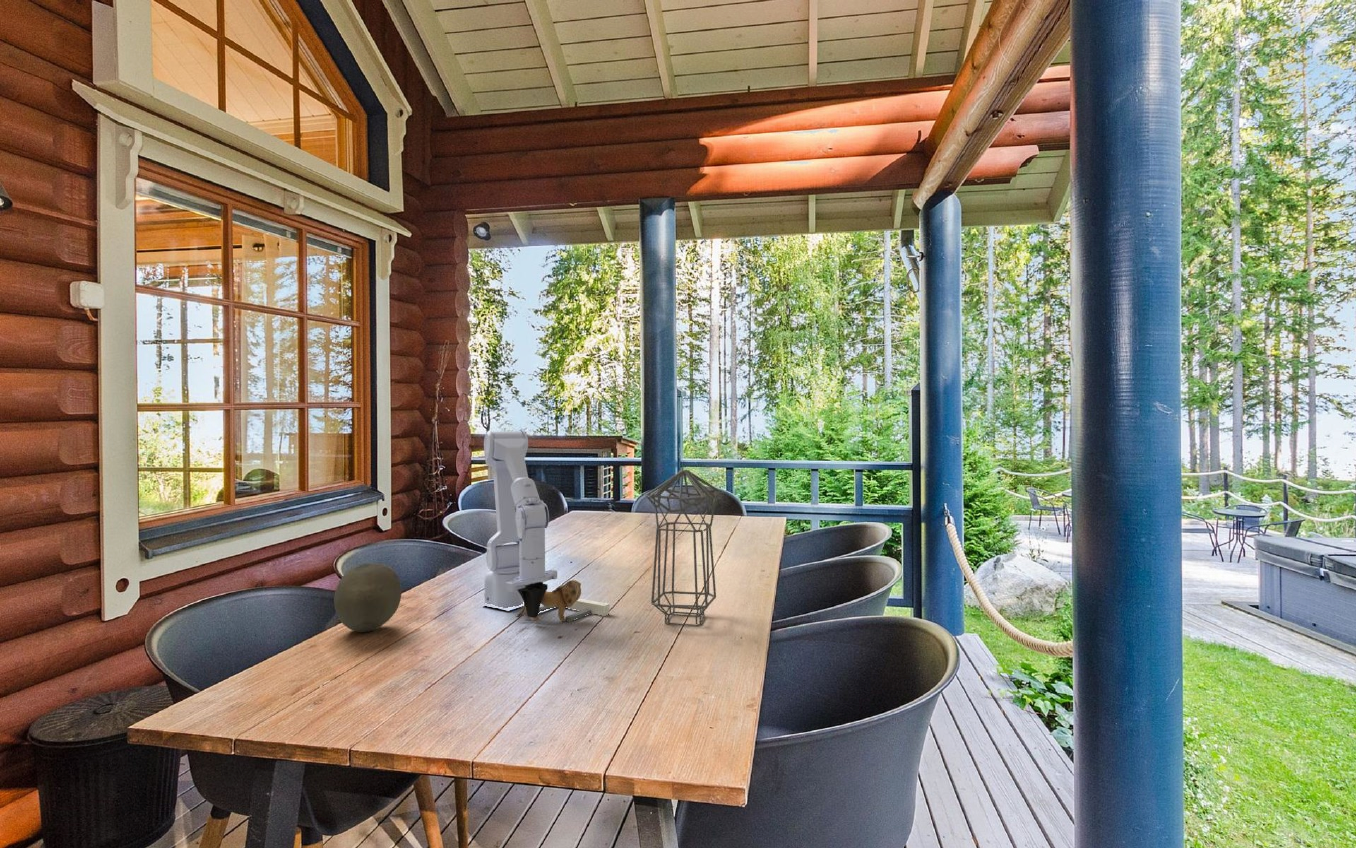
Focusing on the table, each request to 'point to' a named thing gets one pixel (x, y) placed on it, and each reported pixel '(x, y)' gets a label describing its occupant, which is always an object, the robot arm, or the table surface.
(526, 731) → the table surface
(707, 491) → the geometric lantern
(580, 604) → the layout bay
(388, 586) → the cantaloupe
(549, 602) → the lion figurine
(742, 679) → the table surface
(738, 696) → the table surface
